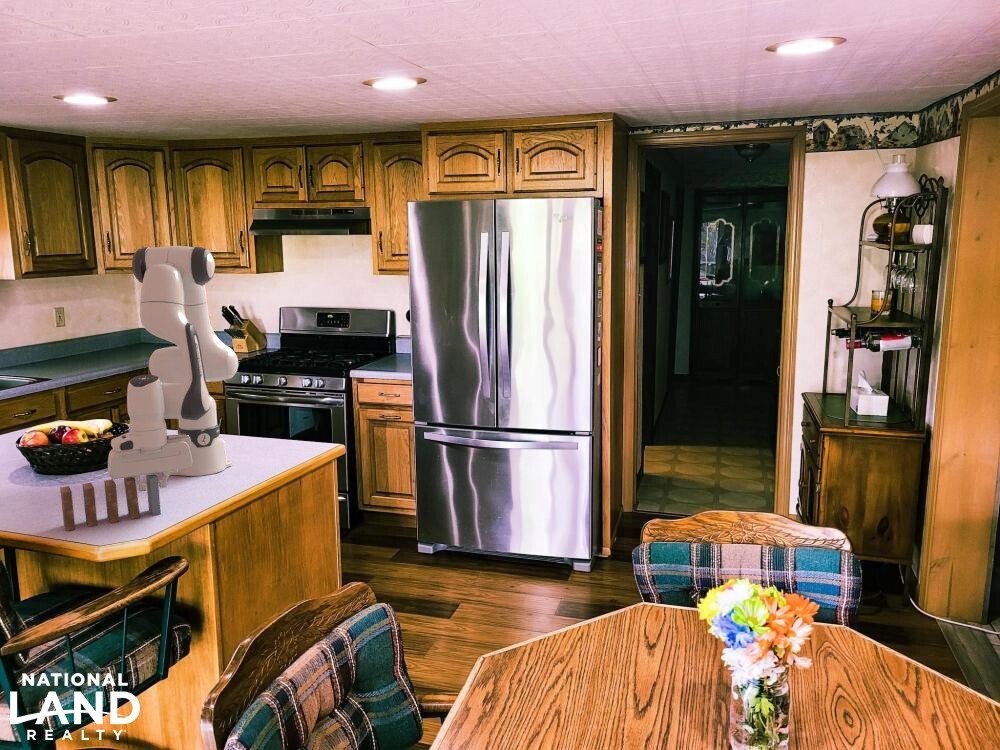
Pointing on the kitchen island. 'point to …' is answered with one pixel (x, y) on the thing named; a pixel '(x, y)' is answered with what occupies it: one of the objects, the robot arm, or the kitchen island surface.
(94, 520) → the domino
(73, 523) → the domino
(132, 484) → the domino
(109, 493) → the domino
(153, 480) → the slate domino
